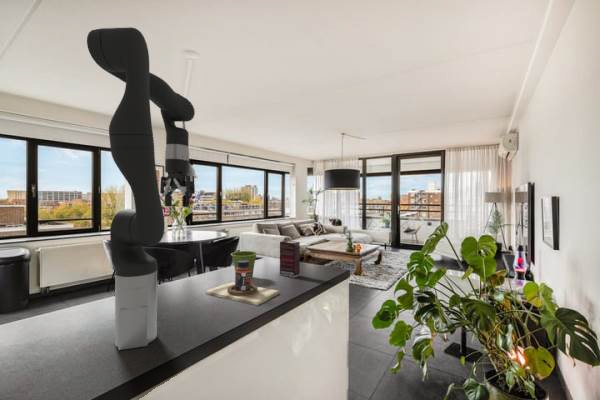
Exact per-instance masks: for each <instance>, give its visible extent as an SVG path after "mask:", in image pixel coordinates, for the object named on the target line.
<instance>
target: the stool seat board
mask: <svg viewBox="0 0 600 400" xmlns="http://www.w3.org/2000/svg"><path fill="white" fill-rule="evenodd" d="M279 294H280V290H276V289H272V288H265V287H260V286H257V285H255V284H252V283H251V290H249V291H235V282H234V281H229V282H227V283H224V284H220V285H219V286H216V287H212V288H210V289H207V290H205V295H209V296H213V297H219V298H223V299H226V300H231V301H236V302H241V303H244V304H249V305H253V306H260V304H263V303H264V302H266V301H268V300H270V299H272V298H273V297H275V296H277V295H279Z"/></svg>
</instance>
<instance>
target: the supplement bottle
mask: <svg viewBox="0 0 600 400" xmlns="http://www.w3.org/2000/svg"><path fill="white" fill-rule="evenodd" d="M234 274H235V275H234V279H235V280H234V281H235V282H234V283H235V291H249V290H251V284H252V278H251V267H250V266H249V261H247V260H241V261H238V266H237V267H236V269H235V268H234Z"/></svg>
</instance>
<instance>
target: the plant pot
mask: <svg viewBox="0 0 600 400" xmlns="http://www.w3.org/2000/svg"><path fill="white" fill-rule="evenodd" d="M257 255H258V252H257V251H252V250H241V251H235V252H232V253H230V256H231V258H232V261H233V262H232V263H233V268H234V270H235V269H236V267H237V266H238V261H241V260H247V261H249V266H250V267H251V279H252V278H253V277H254V267H255V263H256V258H257Z"/></svg>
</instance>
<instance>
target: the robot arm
mask: <svg viewBox="0 0 600 400" xmlns="http://www.w3.org/2000/svg"><path fill="white" fill-rule="evenodd" d="M86 46H87V49H88V52H89V54H90V57H91V58H92V60H93V61H94V62H95V64H97V65H98V66H99V67H100V68H101V69H102V70H104V71H105V72H107V73H108V74H110V75H112V76H113V77H115V78H117V79H119V80H120V81H122V82H123V83H125V88H124V92H123V96H122V98H121V100H120V102H119V104H118V105H117V107H116V110H115V112H114V113H113V115H112V118H111V120H110V122H109V124H108V125H109V126H108V135H109V145H110V153H111V157H112V160H113V162H114V164H115V165H116V167H117V169H118V170H119V171H120V174H122V176H123V178H124V179H125V181H126V182H127V183H128V185H129V188H130V189H131V192H132V195H133V200H134V206H135V208H124V209H121V210H118V211H117V212H116V213H115V215H114V216H113V218H112V220H111V223H110V229H109V230H110V235H109V238H110V250H111V251H110V254H111V263H112V264H113V267H114V270H115V271H114V272H115V279H114V281H115V286H114V290H115V292H114V294H115V295H114V299H115V300H114V340H115V341H114V344H115V345H114V346H115V347H116V348H117V350H118V351H123V350H129V349H134V348H135V349H136V348H141V347H148V345H149V344H150V343H151V342H153V341H154V340H156V338H157V334H158V317H157V316H158V261H157V259H156V258H155V257H153V256H151V255H149V254H148V253H147V252H146V251H145V250H144V247H152V246H153V247H154V246H156V245H158V244H159V243H160V242H161V241H162V239H163V238H164V234H165V228H166V227H165V225H166V224H165V216H164V212H163V206H162V200H161V195H160V194H163V196H164V206H165V207H172V206H173V196H172V195H173V193H174V192H175V191H176V190H179V192H181V195H182V196H181V197H182V198H181V203H182V205H181V207H183V208H189V206H190V203H191V202H190V196H192V195H193V194H194V195H195V193H196V191H195V176H193V175H189V173H190V149H189V148H190V147H189V139H190V138H189V136H190V135H189V131H188V130H187V129H185V128H183V127H179V126H176V122H177V123H178V122H190V121H192V120H193V119H194V117H195V112H196V111H195V108H194V107H195V106H194V105H193V103H192V102H191V101H190V100H189V99H187V98H186V97H185V96H183V95H182V94H179V93H178V92H176V91H175V90H174V89H173V88H172V87H171V86H170V85H169V84H168V83H167V82H166V81H165V80H164V79H163V78H161V77H159V76H157V74H154V73H152V72H150V54H149V49H148V48H149V47H148V43H147V41H146V39H145V37H144V35H143V33H142V32H141V31H140V30H139V29H137V28H136V27H131V26H118V27H115V26H113V27H98V28H94V29H91V30H90V31H89V32H88V34H87V37H86ZM150 101H151V102H152V104H154V105H155V106H156V107H158V108H159V109H160V114H161V117H162V121H163V125H164V130H165V136H166V137H165V150H164V164H165V165H164V172H165V173H166V174H167V176H163V175H162V176H160V189H159V184H158V176H157V166H156V156H155V154H156V153H155V143H154V142H155V140H154V133H153V125H152V115H151V114H152V113H151V104H150V103H151V102H150Z"/></svg>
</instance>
